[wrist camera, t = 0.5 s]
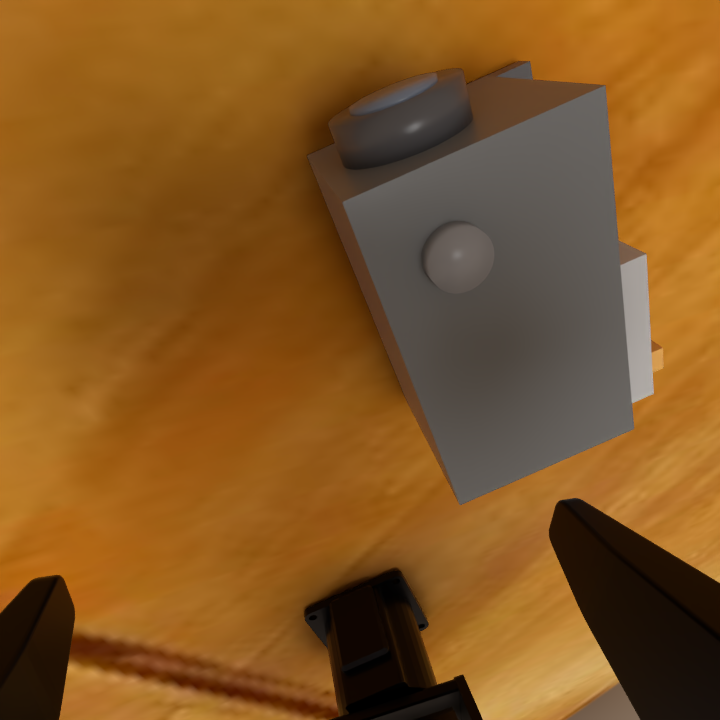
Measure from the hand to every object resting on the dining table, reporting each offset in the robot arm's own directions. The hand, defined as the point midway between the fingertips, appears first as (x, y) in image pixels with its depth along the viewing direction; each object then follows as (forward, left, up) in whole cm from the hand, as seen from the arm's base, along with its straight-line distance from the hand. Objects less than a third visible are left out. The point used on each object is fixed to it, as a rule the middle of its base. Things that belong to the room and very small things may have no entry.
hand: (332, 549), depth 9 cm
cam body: (-2, -7, -13) cm, 15 cm away
